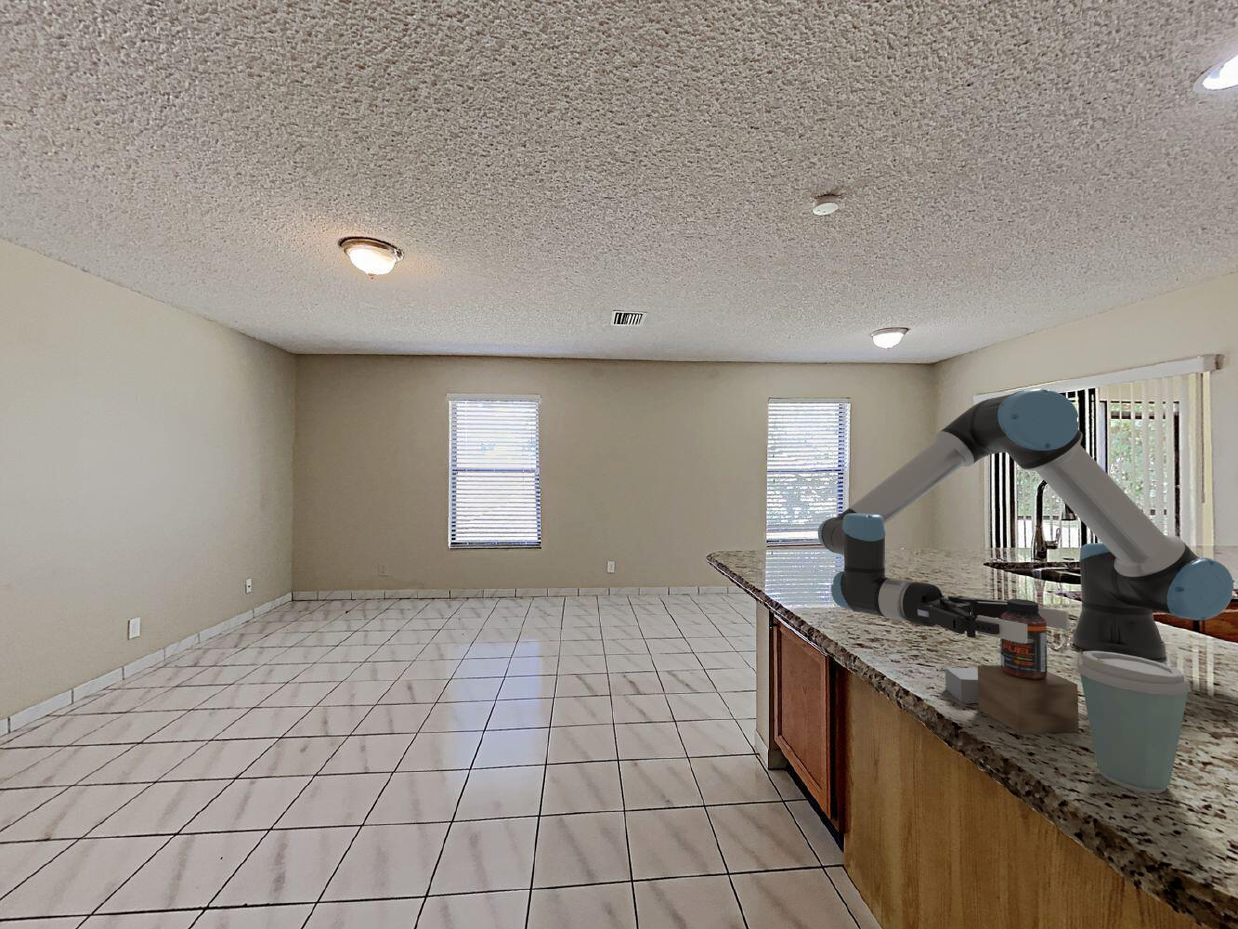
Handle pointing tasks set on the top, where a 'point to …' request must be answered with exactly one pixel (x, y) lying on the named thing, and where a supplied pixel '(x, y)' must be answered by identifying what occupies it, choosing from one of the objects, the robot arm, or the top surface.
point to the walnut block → (1028, 701)
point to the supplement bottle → (1029, 656)
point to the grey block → (963, 683)
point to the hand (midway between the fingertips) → (1048, 627)
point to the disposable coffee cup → (1133, 717)
